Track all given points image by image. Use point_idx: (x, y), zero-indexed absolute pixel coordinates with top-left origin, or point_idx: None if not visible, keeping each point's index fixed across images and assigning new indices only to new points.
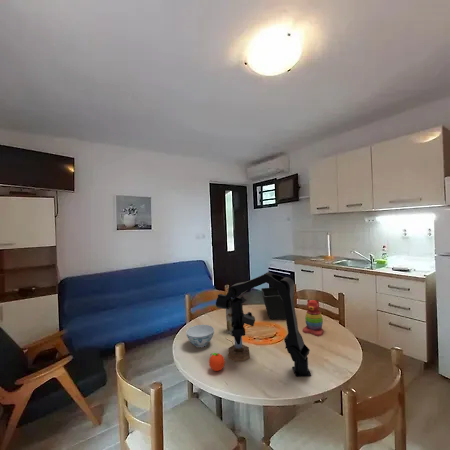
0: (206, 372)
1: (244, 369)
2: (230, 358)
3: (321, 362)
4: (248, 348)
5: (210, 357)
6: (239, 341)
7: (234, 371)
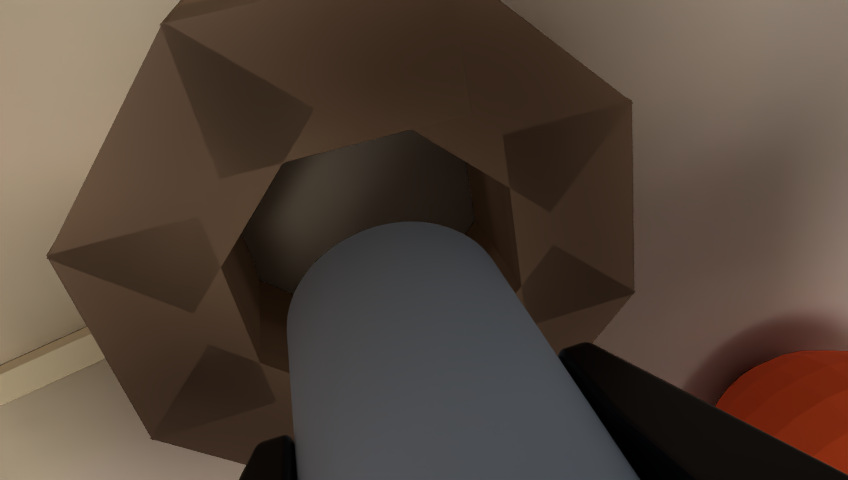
0: None
1: (818, 5)
2: None
3: None
4: (261, 17)
5: None
6: (691, 416)
7: (834, 167)
